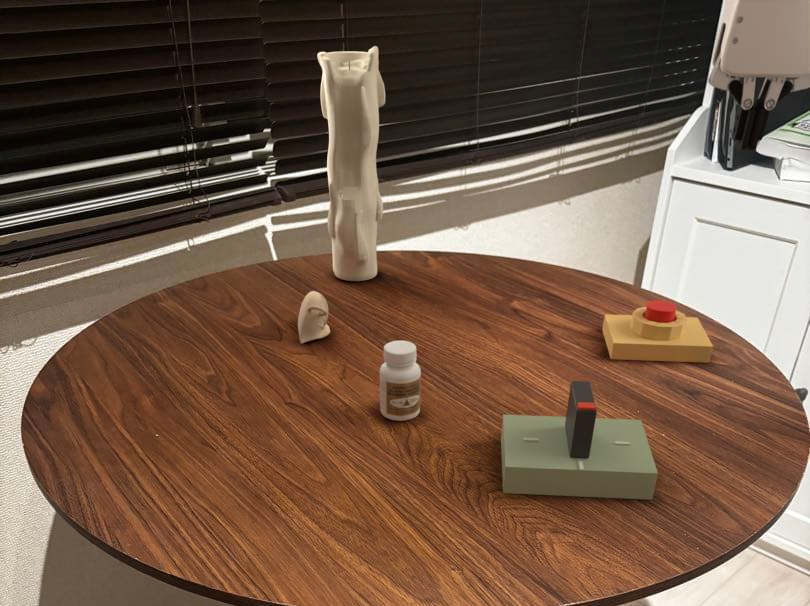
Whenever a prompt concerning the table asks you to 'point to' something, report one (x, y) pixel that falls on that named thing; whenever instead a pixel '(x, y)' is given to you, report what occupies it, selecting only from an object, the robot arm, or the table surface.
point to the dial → (580, 419)
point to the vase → (353, 158)
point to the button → (660, 311)
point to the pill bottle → (400, 381)
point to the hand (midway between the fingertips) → (744, 147)
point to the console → (576, 459)
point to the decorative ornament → (313, 317)
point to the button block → (656, 338)
